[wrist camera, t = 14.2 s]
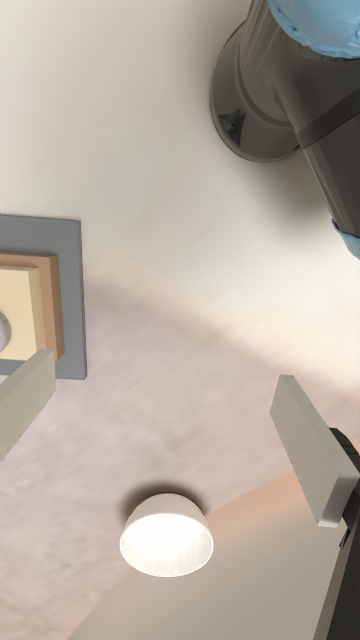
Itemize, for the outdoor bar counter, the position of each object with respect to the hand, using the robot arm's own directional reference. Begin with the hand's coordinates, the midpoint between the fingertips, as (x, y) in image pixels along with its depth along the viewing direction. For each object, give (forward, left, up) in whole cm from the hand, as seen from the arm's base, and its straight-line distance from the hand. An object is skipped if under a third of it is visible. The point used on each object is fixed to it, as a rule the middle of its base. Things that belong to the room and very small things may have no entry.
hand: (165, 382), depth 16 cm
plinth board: (+5, -25, -29) cm, 39 cm away
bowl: (+50, +2, -30) cm, 59 cm away
